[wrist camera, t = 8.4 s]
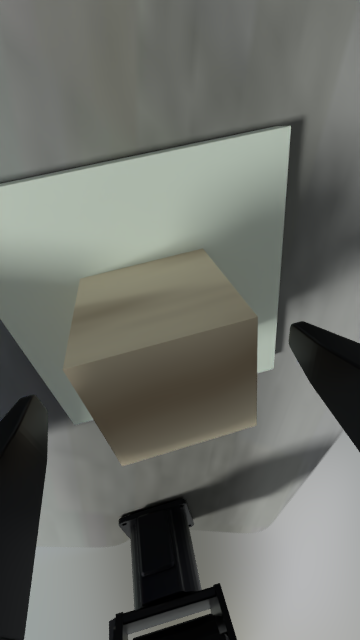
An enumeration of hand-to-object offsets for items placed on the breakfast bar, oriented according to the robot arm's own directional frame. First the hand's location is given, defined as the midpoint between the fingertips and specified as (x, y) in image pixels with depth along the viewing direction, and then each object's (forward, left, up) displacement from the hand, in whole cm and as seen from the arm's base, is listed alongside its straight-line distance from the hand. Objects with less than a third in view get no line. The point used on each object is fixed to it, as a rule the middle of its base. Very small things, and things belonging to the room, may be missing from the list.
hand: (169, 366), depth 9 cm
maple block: (0, 0, -4) cm, 4 cm away
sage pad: (0, 0, -4) cm, 5 cm away
